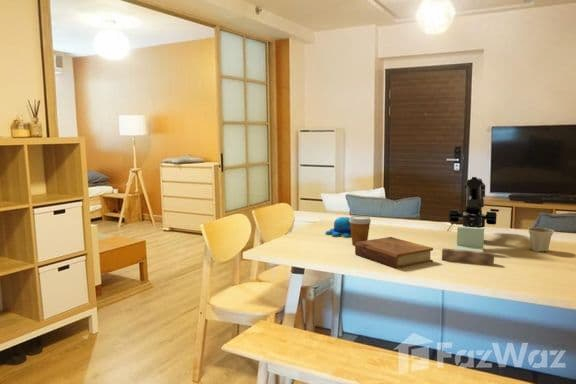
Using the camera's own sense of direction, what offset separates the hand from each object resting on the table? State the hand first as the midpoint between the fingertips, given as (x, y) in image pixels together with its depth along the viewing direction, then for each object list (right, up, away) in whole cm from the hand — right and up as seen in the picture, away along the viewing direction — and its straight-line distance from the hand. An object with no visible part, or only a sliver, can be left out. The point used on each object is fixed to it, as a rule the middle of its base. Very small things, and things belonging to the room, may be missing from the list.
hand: (471, 233), depth 191 cm
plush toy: (-49, -4, +32) cm, 59 cm away
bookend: (-4, -8, -7) cm, 11 cm away
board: (-9, -9, -19) cm, 22 cm away
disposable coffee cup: (-45, -6, +10) cm, 46 cm away
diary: (-35, -9, -12) cm, 38 cm away
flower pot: (+27, -7, -2) cm, 28 cm away
